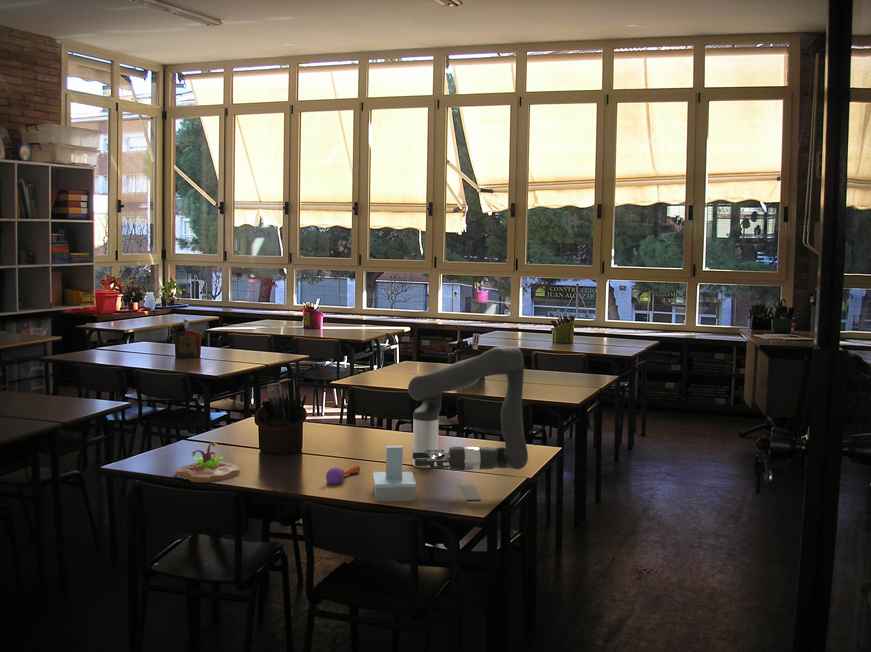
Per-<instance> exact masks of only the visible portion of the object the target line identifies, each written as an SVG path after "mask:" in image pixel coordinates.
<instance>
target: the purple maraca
mask: <svg viewBox="0 0 871 652" xmlns="http://www.w3.org/2000/svg"><path fill="white" fill-rule="evenodd" d="M360 470H361V466H360V465H359V464H358V463H353V464H352V465H350V466H349V467H347V468H346V469H345V470H343V469H341V468H339V467H336V466H335V467H334V466H333V467H331V468H330V469H328V470H327V472H326V475H325V479H326V482H327V483H328V484H329V485H333V486H334V485H335V486H336V485H341V484H342V483H343V482H344V480H345V477H346V475H353V474H357V473H359V472H360Z"/></svg>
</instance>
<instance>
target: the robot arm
mask: <svg viewBox="0 0 871 652" xmlns="http://www.w3.org/2000/svg"><path fill="white" fill-rule="evenodd" d="M524 360H525V358H524V354H523V352H522V349H520V348H519V347H518V346H513V345H511V346H508V345H507V346H503V345H502V346H501V345H499V346H495V347H493V348H491V349H488V350H487V351H485V352H482V354H479V355H477V356H475V357H470V358H467V359H463V360H459V361H457V362H455V363H452V364H449V365H447V366H445V367H443V368H440V369H438V370H436V371H434V372H431V373H427V374H421V375H416V376H414V377H413V378H411V380H410V381H409V382H408V386H407V393H408V395H409V396H410V398H412V399H413V400H414V401H417V402H422V404H421V405H420V406H419V407H417V408H415V410H414V411H413V414H412V415H413V417H412V418H413V419H412V422H413V424H412V427H413V428H412V430H413V431H412V466H414V467H417V468H424V469H428V468H429V469H449V470H450V471H454V472H455V471H476V470H493V469H511V470H512V469H513V470H521V469H523V468H524V467H526V465H527V463H528V460H529V452H528V449H527V448H528V447H527V443H526V438H525V432H524V421H523V408H522V407H523V404H522V403H523V390H524V388H523V387H524V386H523V385H524V371H525V361H524ZM502 375H503V376H505V375H506V378H507V388H506V389H507V390H506V393H505V397H504V400H503V402H502V405H501V409H500V426H501V436H502V437H503V439H504V445H505V446H502V447H500V446H499V447H490V446H449V449H448V452H445V450H444V449H439V414H440V413H441V409H442V397H443V395H442V394H443V393H446V392H454V391H460V390H463V389H466V388H469V387H471V386H474V385H476V383H478V382H479V380H480V379H482V378H486V377H490V376H491V377H492V376H502Z"/></svg>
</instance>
